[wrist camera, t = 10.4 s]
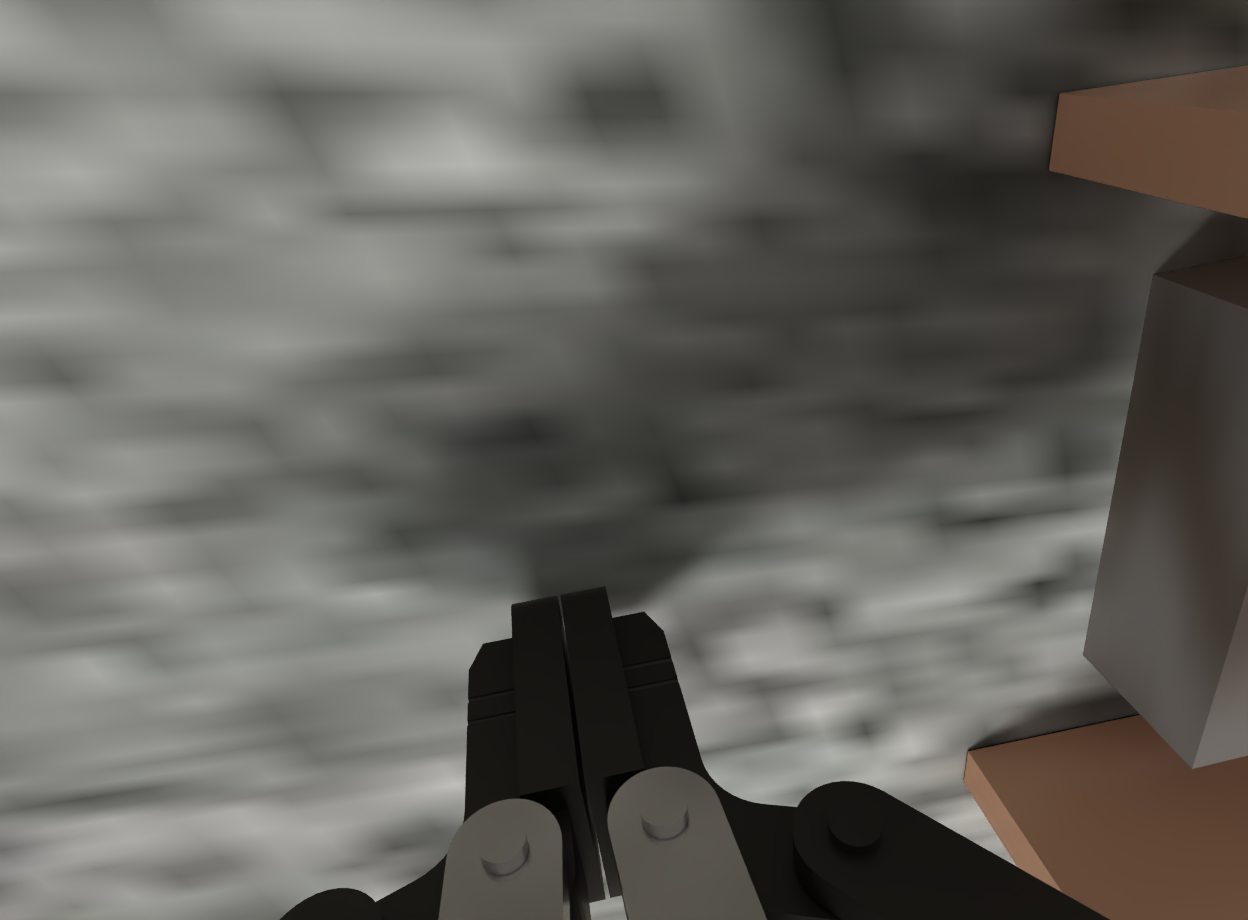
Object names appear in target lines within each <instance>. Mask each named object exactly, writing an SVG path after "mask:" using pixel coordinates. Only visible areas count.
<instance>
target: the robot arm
mask: <svg viewBox="0 0 1248 920" xmlns="http://www.w3.org/2000/svg"><path fill="white" fill-rule="evenodd" d="M561 603H562V610H563V618H564V625H563V620H562V615H561V610H560V606H559V601H558V597H557V596H552V597H547V598H542V599H537V600H532V601H527V602H522V603H516V604H512V606H511V616H512V638H510V639H505V640H500V641H494V642H489V643H484V644H483V645H482V647H481V649H480V650H479V652H478V654H477V656H476V658H475V660H474V662H473V664H472V665H471V667H470V669H469V685H468V699H469V703H468V720H467V721H468V726H467V756H466V791H465V815H464V821H463V824H462V826H461V827H460V828H459V829H458V831H457V832H456V834H455V835H454V837H453V839H452V841H451V844H450V846H449V849H448V853H447V854H446V856H445V857H444V858H443V859H442V860H441V861H440V862H439V863H438V864H437V865H436V866H435V867H434V868H433V869H431V870H430V871H429V872H428V873H426V874H425V875H423V876H422V877H420V878H419V879H417V880H415V881H414V882H412V883H410V884H408V885H406V886H404V887H403V888H401V889H399V890H397V891H395V892H393V893H391V894H390V895H388V896H386V897H384V898H382V899H380V900H379V901H377V902H375V901H374V900H373V899H372V898H371V897H370V896H368V895H367V894H366V893H363V892H361V891H359V890H355V889H350V888H337V889H331V890H327V891H324V892H320V893H317V894H315V895H313V896H311V897H309V898H307V899H305V900H304V901H302V902H301V903H299V904H297V905H296V906H295V907H294V908H292V909H291V910H290V911H289V912H287V913H286V914H285V915H284V916H283V917H282V918H281V919H280V920H591V915H590V906H589V903H591V902H595V901H600V900H604V899H605V892H604V884H603V877H602V870H601V862H600V855H599V848H600V852H601V857H602V861H603V866H604V871H605V875H606V880H607V884H608V889H609V893H610V898H611V897H616V896H620V895H622V898H623V902H624V907H625V912H626V917H627V920H1110V919H1108V918H1106V917H1105V916H1103V915H1101V914H1099V913H1098V912H1096V911H1094V910H1092V909H1091V908H1089V907H1087V906H1085V905H1083V904H1082V903H1080V902H1078V901H1076V900H1075V899H1073V898H1071V897H1069V896H1068V895H1066V894H1064V893H1062V892H1061V891H1059V890H1057V889H1055V888H1053V887H1052V886H1050V885H1048V884H1046V883H1045V882H1043V881H1041V880H1039V879H1038V878H1036V877H1034V876H1032V875H1030V874H1029V873H1027V872H1025V871H1023V870H1022V869H1020V868H1018V867H1016V866H1015V865H1013V864H1011V863H1009V862H1007V861H1006V860H1004V859H1002V858H1000V857H999V856H997V855H995V854H993V853H992V852H990V851H988V850H986V849H985V848H983V847H981V846H979V845H977V844H976V843H974V842H972V841H970V840H969V839H967V838H965V837H963V836H962V835H960V834H958V833H956V832H954V831H953V830H951V829H949V828H947V827H946V826H944V825H942V824H940V823H939V822H937V821H935V820H933V819H931V818H930V817H928V816H926V815H924V814H923V813H921V812H919V811H917V810H916V809H914V808H912V807H910V806H909V805H907V804H905V803H903V802H901V801H900V800H898V799H896V798H894V797H893V796H891V795H889V794H887V793H886V792H884V791H882V790H880V789H878V788H875V787H873V786H870V785H867V784H864V783H859V782H852V781H840V782H832V783H828V784H825V785H822V786H820V787H818V788H816V789H814V790H813V791H811V792H810V793H808V794H807V795H806V796H805V797H804V798H803V799H802V800H801V802H800V804H799V805H798V807H789V806H778V805H767V804H759V803H753V802H749V801H746V800H743V799H740V798H738V797H736V796H734V795H732V794H730V793H728V792H727V791H725V790H724V789H722V788H721V787H720V786H719V785H718V784H717V783H715V781H714V780H713V779H712V778H711V777H710V776H709V774H708V772H707V771H706V769H705V767H704V765H703V762H702V759H701V756H700V753H699V749H698V746H697V742H696V739H695V736H694V732H693V729H692V726H691V722H690V719H689V715H688V712H687V709H686V705H685V702H684V698H683V695H682V692H681V688H680V685H679V683H678V679H677V675H676V671H675V668H674V665H673V661H672V659H671V654H670V651H669V648H668V644H667V641H666V638H665V634H664V631H663V630H662V629H661V628H660V627H659V626H658V625H657V624H656V623H655V622H654V621H653V620H652V619H651V618H650V617H649V616H648V615H647V614H646V613H645V612H640V613H635V614H630V615H625V616H620V617H615V618H612V615H611V610H610V606H609V601H608V596H607V592H606V588H605V586H603V587H598V588H592V589H587V590H582V591H577V592H572V593H567V594H562V595H561ZM564 626H565V630H564ZM565 633H566V634H565ZM597 839H598V840H597ZM598 843H599V848H598Z"/></svg>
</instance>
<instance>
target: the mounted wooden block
mask: <svg viewBox="0 0 1248 920" xmlns="http://www.w3.org/2000/svg"><path fill="white" fill-rule="evenodd" d="M1083 656H1084V657H1085V658H1086V659H1087V660H1088V661H1089V662H1090V663H1091V664H1092V665H1093V666H1094V667H1095V668H1096V669H1097V670H1098V671H1099V672H1100V673H1101V674H1102V675H1103V676H1104V677H1105V678H1106V680H1107V681H1108V682H1109V683H1110V684H1111V685H1112V686H1113V687H1114V688H1115V689H1116V690H1117V691H1118V692H1119V693H1120V694H1121V695H1122V696H1123V697H1124V698H1125V699H1126V700H1127V701H1128V702H1129V703H1130V705H1131V706H1132V707H1133V708H1134V709H1135V710H1136V711H1137V712H1138V713H1139V714H1140V715H1141V716H1142V717H1143V718H1144V719H1145V720H1146V721H1147V722H1148V723H1149V724H1150V725H1151V726H1152V727H1153V729H1154V730H1155V731H1156V732H1157V733H1158V734H1159V735H1160V736H1161V737H1162V738H1163V739H1164V740H1165V741H1166V742H1167V743H1168V744H1169V745H1170V746H1171V747H1172V748H1173V749H1174V750H1175V751H1176V753H1177V754H1178V755H1179V756H1180V757H1181V758H1182V759H1183V760H1184V761H1185V762H1186V763H1187V764H1188V765H1189V766H1190V767H1191V768H1192V769H1194V768H1198V767H1202V766H1206V765H1211V764H1215V763H1219V762H1223V761H1227V760H1231V759H1235V758H1240V757H1244V756H1248V256H1245V257H1240V258H1235V259H1230V260H1225V261H1220V262H1215V263H1210V264H1205V265H1200V266H1195V267H1190V268H1185V269H1180V270H1175V271H1170V272H1165V273H1160V274H1155V275H1153V279H1152V284H1151V290H1150V295H1149V301H1148V306H1147V311H1146V317H1145V322H1144V328H1143V333H1142V338H1141V344H1140V349H1139V355H1138V360H1137V365H1136V371H1135V376H1134V382H1133V387H1132V392H1131V398H1130V403H1129V409H1128V414H1127V419H1126V425H1125V430H1124V436H1123V441H1122V446H1121V452H1120V457H1119V463H1118V468H1117V473H1116V479H1115V484H1114V490H1113V495H1112V501H1111V506H1110V511H1109V517H1108V522H1107V528H1106V533H1105V538H1104V544H1103V549H1102V555H1101V560H1100V565H1099V571H1098V576H1097V582H1096V587H1095V592H1094V598H1093V603H1092V609H1091V614H1090V619H1089V625H1088V630H1087V636H1086V641H1085V646H1084V652H1083Z"/></svg>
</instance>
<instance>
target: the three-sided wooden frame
mask: <svg viewBox="0 0 1248 920" xmlns="http://www.w3.org/2000/svg"><path fill="white" fill-rule="evenodd" d="M1049 171H1053V172H1057V173H1062V174H1066V175H1070V176H1074V177H1078V178H1082V179H1086V180H1090V181H1094V182H1099V183H1103V184H1107V185H1111V186H1115V187H1119V188H1123V189H1127V190H1131V191H1136V192H1140V193H1144V194H1148V195H1152V196H1156V197H1160V198H1164V199H1168V200H1173V201H1177V202H1181V203H1185V204H1189V205H1193V206H1197V207H1201V208H1206V209H1210V210H1214V211H1218V212H1222V213H1226V214H1230V215H1234V216H1238V217H1243V218H1247V219H1248V65H1246V66H1240V67H1233V68H1226V69H1220V70H1213V71H1206V72H1199V73H1193V74H1186V75H1179V76H1173V77H1166V78H1159V79H1152V80H1146V81H1139V82H1132V83H1126V84H1119V85H1112V86H1105V87H1099V88H1092V89H1085V90H1079V91H1072V92H1065V93H1060V94H1059V102H1058V109H1057V116H1056V123H1055V130H1054V137H1053V145H1052V152H1051V159H1050V166H1049ZM964 783H965V785H966V787H967V788H968V790H969V791H970V793H971V795H972V796H973V798H974V799H975V801H976V802H977V804H978V806H979V807H980V809H981V810H982V812H983V813H984V815H985V817H986V818H987V820H988V821H989V823H990V824H991V826H992V828H993V829H994V831H995V832H996V834H997V835H998V837H999V839H1000V840H1001V842H1002V843H1003V845H1004V846H1005V848H1006V850H1007V851H1008V853H1009V854H1010V856H1011V858H1012V859H1013V861H1014V862H1015V864H1016V865H1017V867H1018V868H1020V869H1022V870H1023V871H1025V872H1027V873H1029V874H1030V875H1032V876H1034V877H1036V878H1038V879H1039V880H1041V881H1043V882H1045V883H1046V884H1048V885H1050V886H1052V887H1053V888H1055V889H1057V890H1059V891H1061V892H1062V893H1064V894H1066V895H1068V896H1069V897H1071V898H1073V899H1075V900H1076V901H1078V902H1080V903H1082V904H1083V905H1085V906H1087V907H1089V908H1091V909H1092V910H1094V911H1096V912H1098V913H1099V914H1101V915H1103V916H1105V917H1106V918H1108V919H1110V920H1248V756H1244V757H1240V758H1235V759H1231V760H1227V761H1223V762H1219V763H1215V764H1211V765H1206V766H1202V767H1198V768H1194V769H1192V768H1191V767H1190V766H1189V765H1188V764H1187V763H1186V762H1185V761H1184V760H1183V759H1182V758H1181V757H1180V756H1179V755H1178V754H1177V753H1176V751H1175V750H1174V749H1173V748H1172V747H1171V746H1170V745H1169V744H1168V743H1167V742H1166V741H1165V740H1164V739H1163V738H1162V737H1161V736H1160V735H1159V734H1158V733H1157V732H1156V731H1155V730H1154V729H1153V727H1152V726H1151V725H1150V724H1149V723H1148V722H1147V721H1146V720H1145V719H1144V718H1143V717H1142V716H1141V715H1137V716H1132V717H1127V718H1123V719H1118V720H1113V721H1109V722H1104V723H1099V724H1095V725H1090V726H1085V727H1080V728H1076V729H1071V730H1066V731H1062V732H1057V733H1052V734H1048V735H1043V736H1038V737H1033V738H1029V739H1024V740H1019V741H1015V742H1010V743H1005V744H1001V745H996V746H991V747H986V748H982V749H977V750H972V751H968V755H967V762H966V770H965V777H964Z"/></svg>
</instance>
